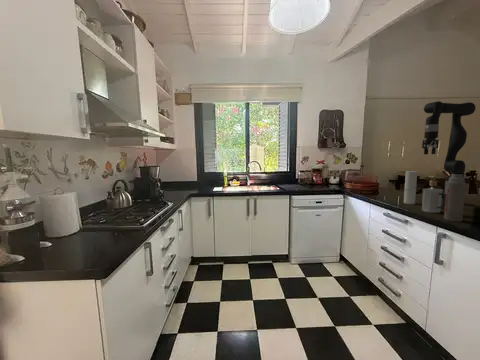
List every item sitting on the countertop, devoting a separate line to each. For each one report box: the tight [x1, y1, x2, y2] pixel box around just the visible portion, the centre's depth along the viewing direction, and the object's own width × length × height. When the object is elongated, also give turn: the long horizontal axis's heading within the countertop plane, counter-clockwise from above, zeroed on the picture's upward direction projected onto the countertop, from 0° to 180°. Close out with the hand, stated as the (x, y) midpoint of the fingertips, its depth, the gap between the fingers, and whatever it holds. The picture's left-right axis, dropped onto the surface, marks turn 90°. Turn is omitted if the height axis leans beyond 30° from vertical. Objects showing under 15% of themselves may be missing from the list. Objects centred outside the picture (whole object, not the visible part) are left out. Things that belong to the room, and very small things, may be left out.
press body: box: [421, 187, 446, 214], centre depth 151 cm, size 9×12×15 cm
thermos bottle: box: [443, 172, 467, 222], centre depth 133 cm, size 8×8×28 cm
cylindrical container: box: [403, 170, 418, 205], centre depth 177 cm, size 7×7×25 cm
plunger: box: [428, 180, 438, 190], centre depth 152 cm, size 5×5×18 cm
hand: (429, 154), depth 163 cm, fingers open, 8 cm apart
